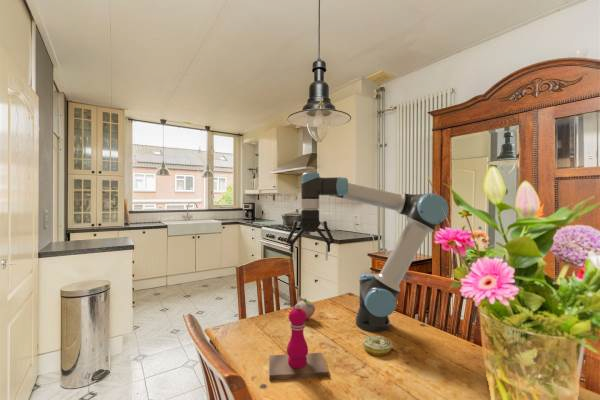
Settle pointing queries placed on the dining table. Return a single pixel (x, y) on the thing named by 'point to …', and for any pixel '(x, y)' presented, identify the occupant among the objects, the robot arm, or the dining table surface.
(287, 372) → the walnut stand
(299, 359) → the pepper mill
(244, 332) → the dining table surface
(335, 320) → the dining table surface
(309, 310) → the decorative fruit
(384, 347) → the decorated donut
